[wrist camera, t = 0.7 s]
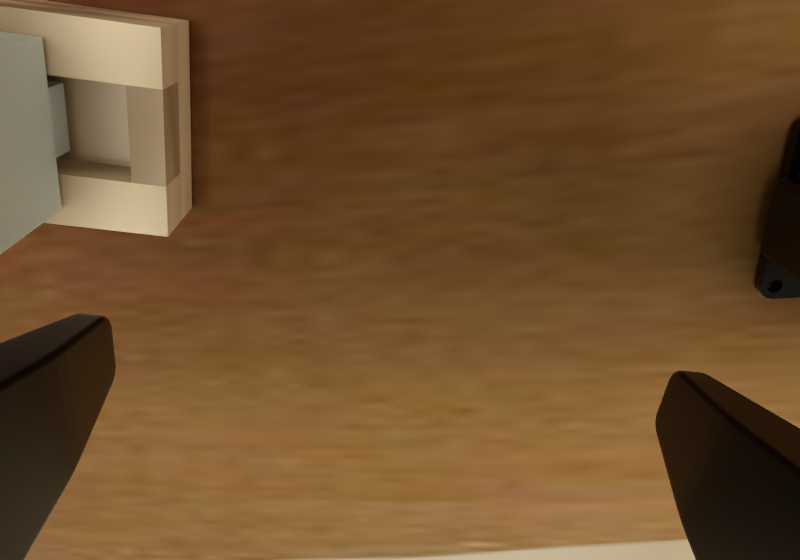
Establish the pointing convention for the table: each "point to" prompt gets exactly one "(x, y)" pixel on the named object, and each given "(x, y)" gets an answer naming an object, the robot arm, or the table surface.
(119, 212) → the beam
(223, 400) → the table surface
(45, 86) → the block
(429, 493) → the table surface
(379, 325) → the table surface
